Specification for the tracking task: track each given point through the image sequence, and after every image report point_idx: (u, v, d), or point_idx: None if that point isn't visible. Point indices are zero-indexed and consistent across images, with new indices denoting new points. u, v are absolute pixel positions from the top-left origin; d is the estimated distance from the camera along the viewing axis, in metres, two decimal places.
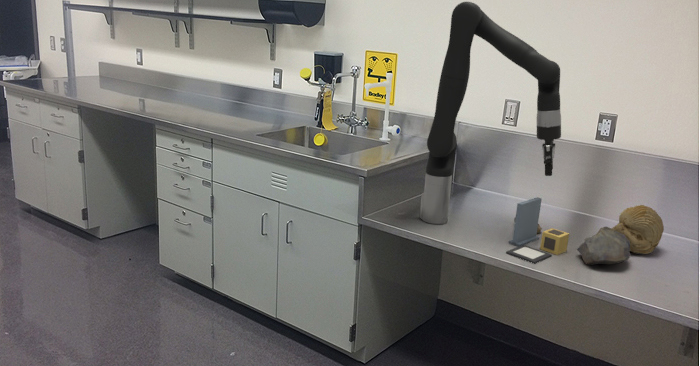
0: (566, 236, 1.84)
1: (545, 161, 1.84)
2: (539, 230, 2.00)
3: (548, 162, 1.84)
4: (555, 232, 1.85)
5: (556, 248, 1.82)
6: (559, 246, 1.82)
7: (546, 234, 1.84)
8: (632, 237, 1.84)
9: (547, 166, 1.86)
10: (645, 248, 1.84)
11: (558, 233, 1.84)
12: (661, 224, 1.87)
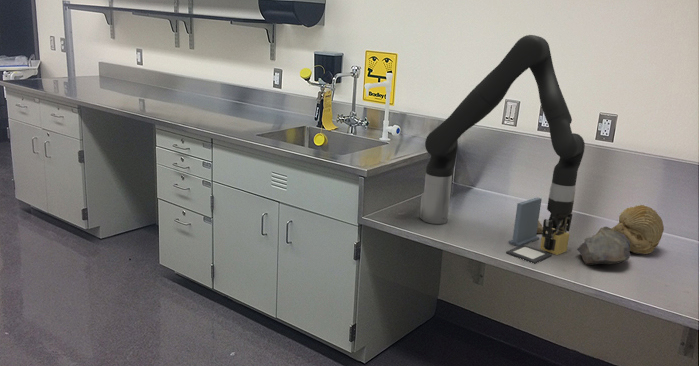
0: (566, 236, 1.84)
1: (543, 235, 1.81)
2: (541, 230, 2.00)
3: (546, 236, 1.81)
4: None
5: (556, 248, 1.82)
6: (559, 246, 1.82)
7: None
8: (632, 237, 1.84)
9: (547, 240, 1.83)
10: (645, 248, 1.84)
11: (558, 233, 1.84)
12: (661, 224, 1.87)
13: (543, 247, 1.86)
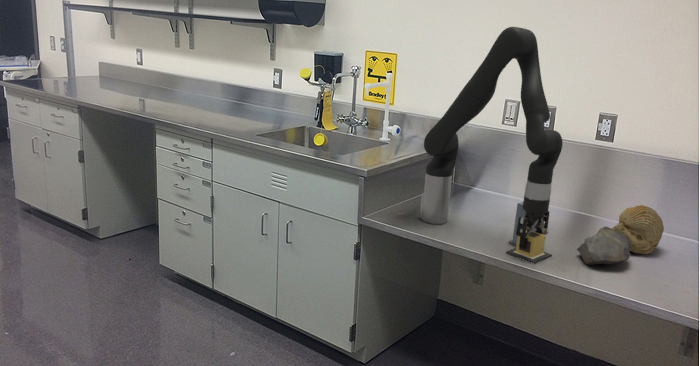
0: (542, 238, 1.79)
1: (517, 233, 1.75)
2: (545, 230, 2.00)
3: (520, 235, 1.75)
4: (531, 234, 1.79)
5: (531, 251, 1.77)
6: (534, 248, 1.77)
7: None
8: (632, 237, 1.84)
9: (521, 239, 1.77)
10: (645, 248, 1.84)
11: (534, 235, 1.79)
12: (661, 224, 1.87)
13: (518, 249, 1.80)
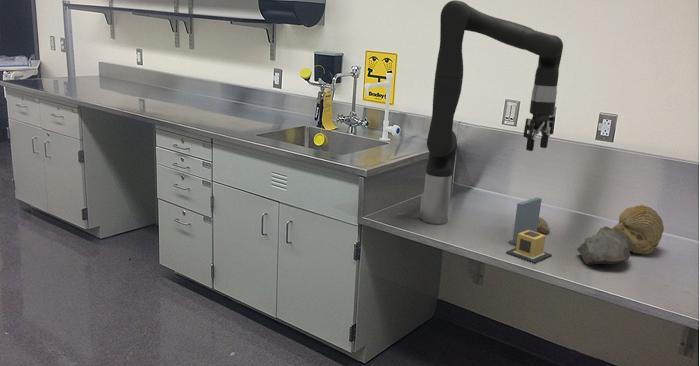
0: (542, 238, 1.79)
1: (524, 134, 1.85)
2: (547, 231, 2.00)
3: (527, 136, 1.84)
4: (531, 234, 1.79)
5: (531, 251, 1.77)
6: (534, 248, 1.77)
7: (521, 236, 1.79)
8: (632, 237, 1.84)
9: (528, 140, 1.86)
10: (645, 248, 1.84)
11: (534, 235, 1.79)
12: (661, 224, 1.87)
13: (518, 249, 1.80)
